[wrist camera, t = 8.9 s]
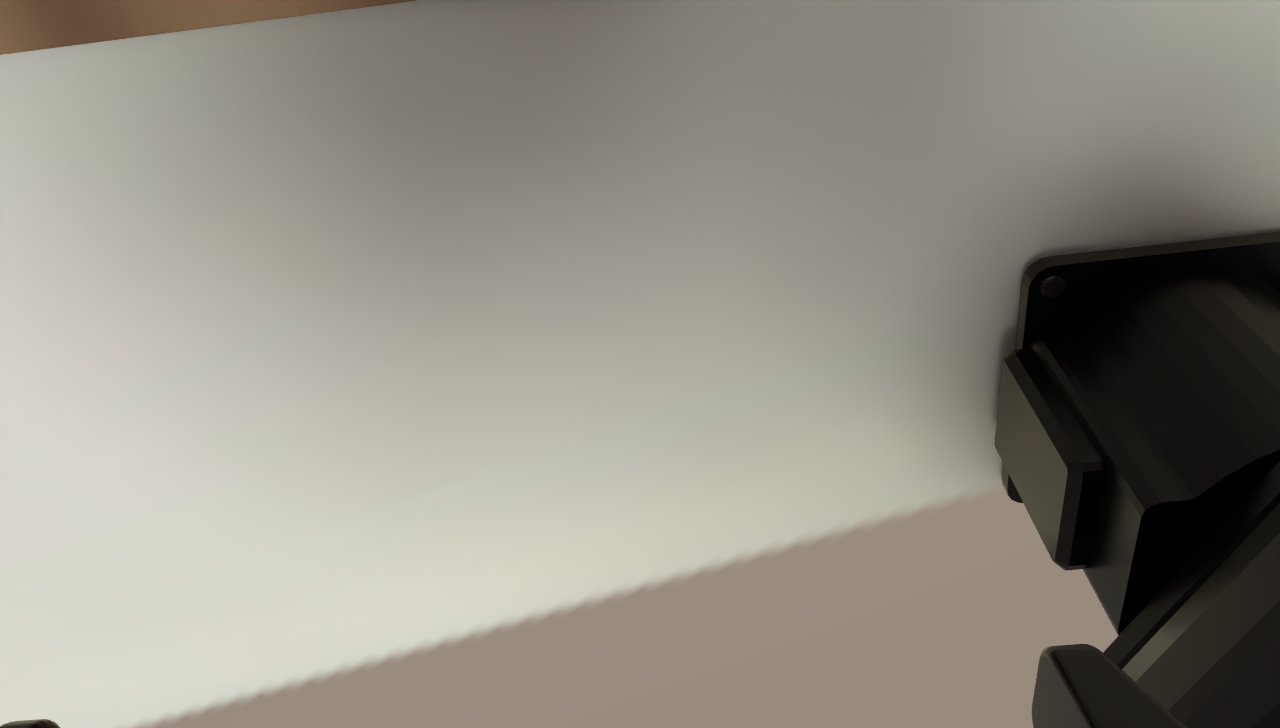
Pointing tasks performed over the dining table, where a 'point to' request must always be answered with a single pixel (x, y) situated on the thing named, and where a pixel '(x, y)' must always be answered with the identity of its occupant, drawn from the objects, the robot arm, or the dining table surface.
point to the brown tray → (139, 18)
